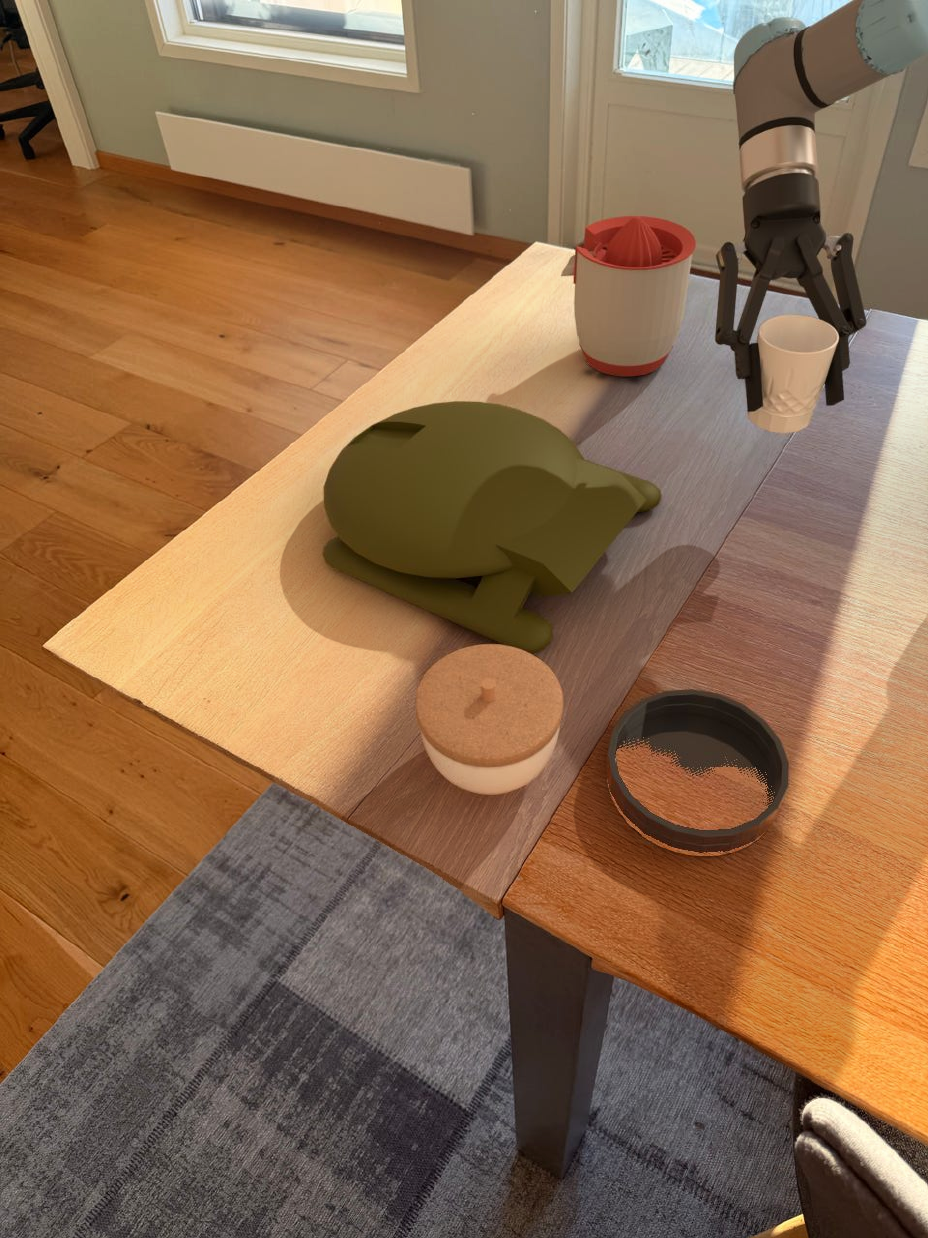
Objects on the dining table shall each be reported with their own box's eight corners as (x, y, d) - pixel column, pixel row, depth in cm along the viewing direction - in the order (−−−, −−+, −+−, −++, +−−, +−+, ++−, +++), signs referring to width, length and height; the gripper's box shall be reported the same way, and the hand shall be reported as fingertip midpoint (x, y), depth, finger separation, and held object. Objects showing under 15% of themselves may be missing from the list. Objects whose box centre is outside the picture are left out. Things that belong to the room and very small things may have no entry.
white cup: (779, 446, 96) (800, 361, 89) (726, 412, 100) (742, 329, 93) (831, 420, 99) (855, 336, 91) (777, 388, 103) (796, 306, 96)
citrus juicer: (571, 323, 138) (577, 186, 123) (687, 336, 133) (707, 197, 119) (546, 377, 127) (549, 235, 113) (670, 393, 123) (689, 248, 109)
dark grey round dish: (783, 729, 84) (791, 705, 82) (777, 875, 74) (786, 853, 72) (619, 700, 87) (622, 676, 85) (593, 836, 77) (595, 814, 75)
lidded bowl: (522, 842, 77) (522, 769, 69) (397, 784, 82) (383, 709, 74) (582, 735, 85) (588, 658, 77) (464, 688, 89) (459, 610, 81)
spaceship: (667, 499, 108) (678, 429, 101) (537, 667, 91) (538, 598, 84) (427, 415, 122) (422, 350, 115) (275, 547, 105) (258, 480, 98)
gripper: (861, 194, 98) (876, 405, 98) (672, 208, 98) (688, 420, 98) (895, 160, 90) (910, 389, 91) (690, 176, 90) (707, 405, 91)
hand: (795, 405), depth 95 cm, fingers closed on white cup, 8 cm apart
